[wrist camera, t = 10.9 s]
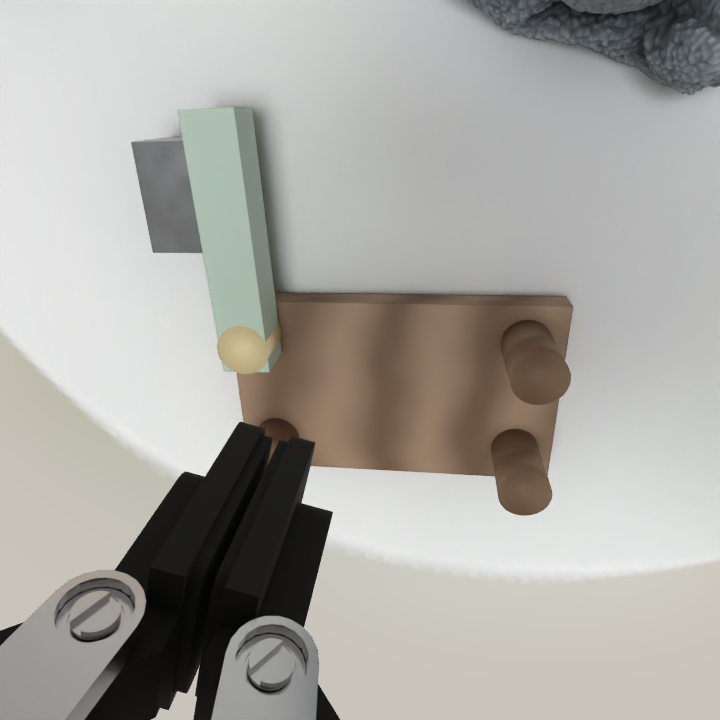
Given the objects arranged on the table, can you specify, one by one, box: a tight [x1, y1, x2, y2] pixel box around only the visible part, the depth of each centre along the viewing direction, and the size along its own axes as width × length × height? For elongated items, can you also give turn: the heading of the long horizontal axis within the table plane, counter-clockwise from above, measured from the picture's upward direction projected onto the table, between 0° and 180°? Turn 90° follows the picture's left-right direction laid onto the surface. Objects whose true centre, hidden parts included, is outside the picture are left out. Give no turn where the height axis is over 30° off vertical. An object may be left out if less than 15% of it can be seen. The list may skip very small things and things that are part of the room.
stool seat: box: [237, 292, 573, 515], centre depth 35 cm, size 22×13×7 cm, turn 91°
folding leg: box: [178, 107, 282, 374], centre depth 32 cm, size 15×3×3 cm, turn 3°
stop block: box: [131, 137, 202, 253], centre depth 32 cm, size 3×6×5 cm, turn 1°
